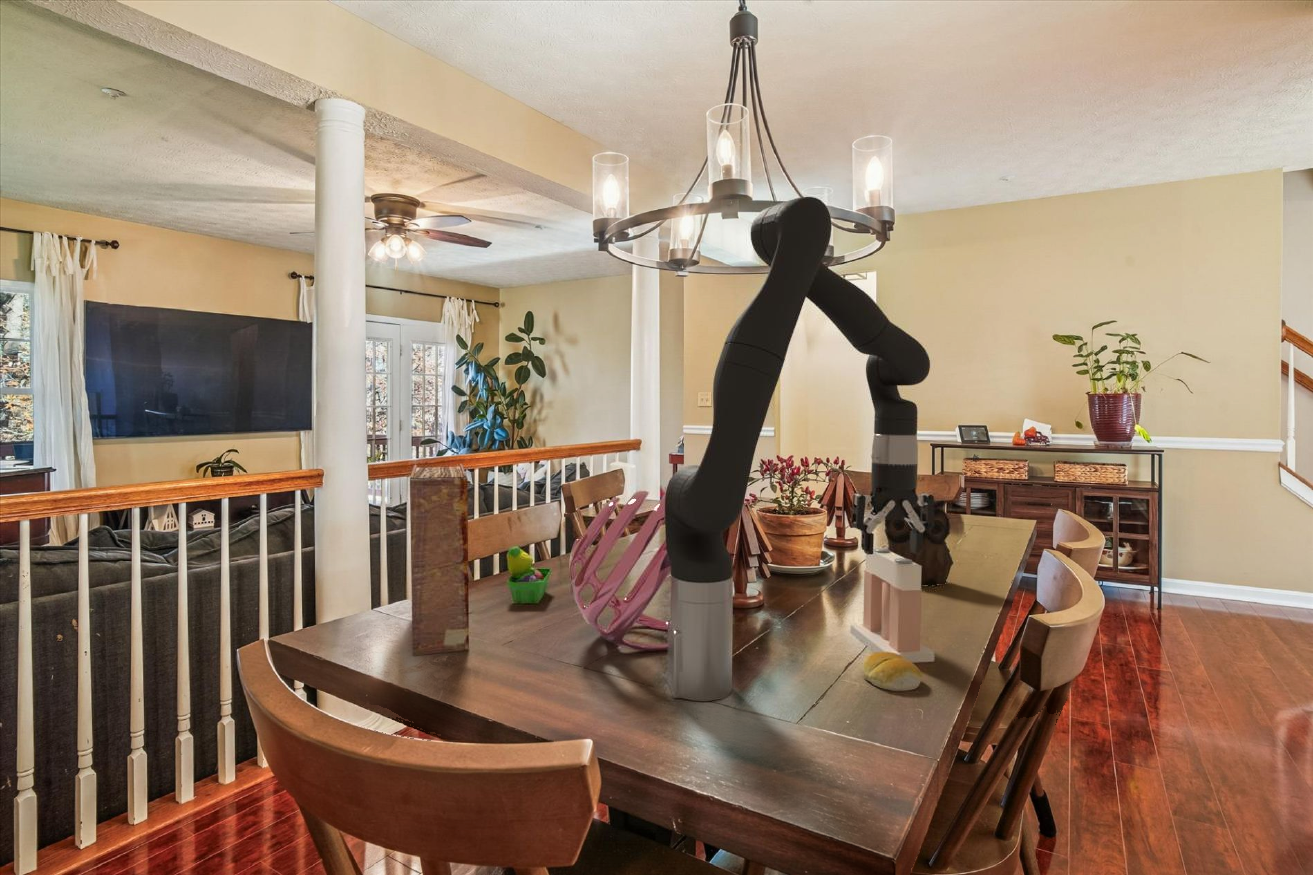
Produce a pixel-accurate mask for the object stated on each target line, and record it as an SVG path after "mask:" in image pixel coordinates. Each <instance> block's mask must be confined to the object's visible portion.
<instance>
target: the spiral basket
mask: <svg viewBox="0 0 1313 875" xmlns="http://www.w3.org/2000/svg"><path fill="white" fill-rule="evenodd" d="M649 494H650V492H649V491H647V490H639V491H636V492H634V493H633V494H632V496H631V497H630V498H629V499H628V501H627V502H626V503H625V505H624V506H623V507H622V509H621V510H620V511H619V512H618V514H617V516H616V517H615V518H614V520H613V521H612V522H611V523H610V525H609V527H608V528H607V530H606V531H605V532H604V534H603V535H602V536H601V538H600V539H599V541H598V543H596V545H595V547H594V548H593V549H592V551H591V553H590V554H589V556H588V557H587V551H588V549H589V547H590V546H591V544H593V542H594V541H595V539H596V538H597V536H598V535H599V534H600V532H601V530H602V529H603V528H604V526H605V525H606V524H607V522H608V520H609V519H610V517H611V516H612V514H613V513H614V511H615V509H616V508H617V507H618V505H619V504H620V501H621V497H614V498H612V499H610V500H609V501H607V503H605V504H604V506H603V507H602V508H601V510H600V511H599V512H598V513H597V515H596V516H595V517H594V518H593V520H592V522H591V523H590V524H589V526H588V527H587V528H586V530H585V532H584V533H583V534H580V535H579V538H576V539H575V541H574V542H573V544H572V548H571V551H570V556H569V563H568V564H569V566H568V569H569V570H568V571H569V583H570V584H569V585H570V591H571V595H572V596H573V599H574V601H575V603H576V605H577V607H578V609H579V611H580V613H581V614H582V618H583V619H584V620H585V622H586V623H587V624H588V625H590V626H591V627H592V628H593V629H594V630H596V631H597V632H598V633H599V634H600V635H601V636H602V637H603V638H604V639H606V640H607V641H608V642H610V643H613V644H616V645H618V646H622V647H624V648H628V649H631V650H635V651H640V652H641V651H642V652H656V651H657V652H658V651H665V650H668V642H667V643H662V644H639V643H635V642H631V641H628V640H626V639H624V638H625V636H626V635H627V633H628V632H630V630H631V629H632V627H633V626H634V625H635V623H636V624H638V625H641V626H645V627H647V628H652V629H657V630H664V631H668V621H665V620H662V619H657V618H654V617H652V616H649V615H646V614H645V613H643V612H644V611H645V610H646V608H647V607H648V606H649V605H650V602H652V600H653V599H654V597H655V596H656V594H657V592H658V591H659V590H660V589H661V587H662V585H663V584H664V583H665V581H666V579H667V578H668V577H669V575H671V567H670V561H669V558H668V554H667V550H666V539H665V540H664V541H663V543H662V544H661V546H660V547H659V548H658V550H657V551H656V552H655V554H654V556H653V557H652V559H651V560H650V562H649V563H648V565H646V567H645V569H644V570H643V572H642V573H641V574H640V576H639V578H638V579H637V581H636V582H635V583H634V585H633V587H632V588H631V589H630V591H629V592H628V594H627V596H626V597H625V598H623V599H621V598H619V597H617V595H616V593H617V592H618V590H619V589H620V587H621V586H622V584H623V583H624V582H625V580H626V578H627V577H628V576H629V574H630V573H631V571H632V570H633V568H634V567H635V566H636V565H637V562H638V561H639V560H640V558H641V557H642V555H643V554H644V552H645V550H646V549H647V548H648V546H649V545H650V544H651V542H652V540H653V539H654V537H655V536H656V534H657V532H658V531H659V530H660V528H661V527H662V525H663V524H664V523H665V495H666V493H664V494H663V496H662V497H661V499H660V500H659V502H658V503H657V504H656V506H655V508H653V510H652V512H651V513H650V514H649V516H648V518H647V519H646V520H645V522H644V523H643V525H642V526H641V528H640V529H639V531H638V532H637V534H636V535H635V536H634V538H633V539H632V540H631V542H630V543H629V545H628V547H627V548H626V549H625V551H624V553H623V554H622V555H621V556H620V558H619V560H618V561H617V562H616V564H615V566H614V567H613V569H612V570H611V572H609V574H608V576H607V577H606V579H604V580H602V581H601V580H600V578H599V577H598V574H597V572H598V569H599V568H600V566H602V564H603V562H604V561H605V559H606V558H607V556H608V555H609V554H610V552H612V549H613V548H614V546H615V545H616V544H617V542H618V540H619V539H620V538H621V537H622V535H623V533H624V532H625V531H626V529H627V528H628V526H629V525H630V524H631V522H632V520H633V518H634V517H636V516H635V515H636V514H637V513H638V511H639V510H640V509H641V507H642V505H643V504H644V502H645V501H646V499H647V497H648V496H649ZM578 562H579V563H580V569H579V571H578V572H577V574H576V565H577V563H578ZM587 585H590V587H591V588H592V591H593V592H594V594H593V597H592V599H591V600H590V601H589V603H588V605H587V606H586V604H585V603H584V601H583V599H582V596H581V593H582V592H583V590H584V589H585V587H586V586H587ZM606 607H609V608H610V609H612V610H613V612H614V616H613V618H612V620H611V622H610V623H609V625H608V626H607V628H605V627H604V626H603V625H601V624H600V623H599V621H598V618H599V617H600V615H601V614H602V613H603V612H604V610H605V608H606Z"/></svg>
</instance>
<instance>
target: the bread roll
mask: <svg viewBox="0 0 1313 875" xmlns="http://www.w3.org/2000/svg"><path fill="white" fill-rule="evenodd" d="M862 662H863V663H862V665H861V673H862V674H861V675H862V677H863V678H864V679H865V680H866V681H867V682H870V683H871V684H872V685H874V686H875V687H878V688H879V689H882V690H883V689H884V690H887V691H894V692H895V691H896V692H899V691H903V692H904V691H911V690H912V691H913V690H915V689H917V688H918V687H919V686H920V684H921V682H922V680H923V675H922V672H921V670H920V668H919V667H918V666H916V664H915V663H911V662H910V661H908V660H906V659H903V658H902V657H901V656H900V655H898V654H896V653H892V652H876V653H875V652H873V653H871V654H870V655H868V656H867V657H866V658H865V659H864V661H862Z"/></svg>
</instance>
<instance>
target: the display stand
mask: <svg viewBox="0 0 1313 875" xmlns="http://www.w3.org/2000/svg"><path fill="white" fill-rule="evenodd" d="M863 572H864V573H863V582H864V583H863V612H862V613H863V615H862V616H863V620H862V621H863V623H862V624H850V629H849V630H850V631H849V632H850V634H851V635H852V636H854V637H855V638H856V639H858V640H859V641H860V642H861V643H862V644H864V645H865V646H866V647H867V648H869V650H871V651H872V652H873V653H876V652H892V653H896V654H898V655H900V656H901V657H902V658H903V659H906V660H908V661H910V662H911V663H913V664H916V663H929V662H931V663H933V662H935V652H934V651H933V650H932V649H930V648H929V647H927V646H925V645H924V644H922V643H921V629H922V628H921V627H922V626H921V625H922V595H923V593H922V590H923V588H921V590H908V591H902V590H900V589H899V588H897V587H895V586H893V585H892V584H890V583H888V582H886V581H885V580H883V579H881V578H879V577H878V576H876V575H874V574H872V573H871V572H869V571H867V570H865V569H864V570H863Z"/></svg>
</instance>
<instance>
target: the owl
mask: <svg viewBox="0 0 1313 875" xmlns="http://www.w3.org/2000/svg"><path fill="white" fill-rule="evenodd" d="M945 504H946V500H944V499H939V500H934V522H935V526H934V528H932V529H930V528H929V529H927V530H925V531H924V532H923V545H922V550H920V553H919V554H914V553H912V552H910V531H912V528H911V527H910V525H909V524H908V522H907V521H906V520H905V519H896V518H895V519H892V520H887V519H884V534H885V535H886V539H887V545H888V547H887V549H889V550H890V551H891V552H893V553H895V554H897V555H899V556H901V557H903V558H905V559H910V560H912V562H914V563H916V564H918V565H920V566H921V585H928V586H927V587H929V586H931V587H933V586H932V585H937V584H945V583H947V581H948V578H949V575H950V572H951V569H952V566H953V565H954V561H953V557H952V555H951V550H950V549H949V548H948V546H947V542H946V540H947V538H948V537H949V535H951V525H950V523H951V522H950V518H949V517H948V515H947V513H946V511H945V508H944V506H945ZM913 510H914V511H915V513H916V514H917V516H918V517H919V520H920V522H921V508H920V505H919V504H918V502H917V503H916V505H915V506H914V508H913ZM945 585H946V584H945Z"/></svg>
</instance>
